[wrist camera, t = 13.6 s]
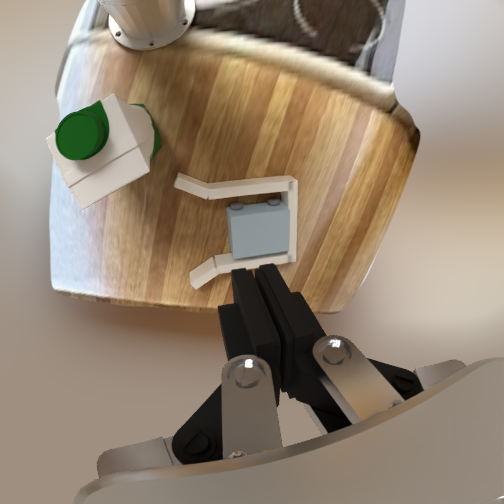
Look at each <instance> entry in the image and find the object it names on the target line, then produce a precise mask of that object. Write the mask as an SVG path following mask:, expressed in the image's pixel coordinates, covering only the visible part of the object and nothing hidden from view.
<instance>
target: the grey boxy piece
mask: <svg viewBox="0 0 504 504" xmlns="http://www.w3.org/2000/svg"><path fill="white" fill-rule="evenodd" d="M226 212H227V224H228V235H229V246H230V249H231V252H232V255H233V258H234V259H238V258H245V257H251V256H258V255H264V254H271V253H278V252H284V251H289V237H290V209H289V208H288V207H287V206H286V205H285V204H284V203H283V202H282V201H280V199H279V198H269V199H268V202H265V203H256V204H248V205H243V203H242V202H232V203H230V207H226Z"/></svg>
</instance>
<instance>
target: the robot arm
mask: <svg viewBox="0 0 504 504" xmlns="http://www.w3.org/2000/svg"><path fill="white" fill-rule="evenodd" d="M98 1H99V3H100V4H101V5H102V6H103V7H104V9H105V10H106V11H107V12H108V13H109V21H108V22H109V29H110V32H111V34H112V36H113V37H114V39H115V40H116V41H117V42H118V43H120V44H121V45H123V46H125V47H127V48H130V49H134V50H153V49H157V48H161V47H163V46H166V45H168V44H170V43H172V42H173V41H175V40H177V39H178V38H179V37H180V36H182V35H183V34H184V33H185V32H186V30H187V29H188V28H189V27H190V25H191V23H192V21H193V19H194V16H195V0H98ZM184 23H186V25H183V24H184ZM119 34H121V35H120V36H119V37H118V35H119ZM152 43H153V44H154V45H153V46H150V44H152ZM231 277H232V287H233V297H234V303H233V304H227V305H221V306H218V313H219V319H220V325H221V330H222V336H223V340H224V345H225V349H226V354H227V358H228V362H227V363H226V364H225V366H224V367H223V370H222V383H221V385H220V386H219V387H218V388H217V389H216V390H215V391H214V393H212V395H211V396H210V397H209V398H208V399H207V400H206V401H205V402H204V403H203V404H202V406H201V407H200V408H199V409H198V410H197V411H196V412H195V413H194V414H193V415H192V416H191V417H190V419H189V420H188V421H187V422H186V423H185V424H184V425H183V426H182V427H181V428H180V429H179V430H178V431H177V432H176V434H175V435H174V436H172V437H169V438H165V439H163V438H162V437H160V438H156V439H152V440H149V441H145V442H141V443H137V444H133V445H128V446H124V447H120V448H115V449H110V450H107V451H105V452H103V453H102V454H101V455H100V456H99V458H98V461H97V471H98V475H99V479H96V480H94V481H92V482H90V483H88V484H86V485H85V486H83V487H82V488H81V489H80V490H79V491H78V492H77V494H76V496H75V498H74V501H73V504H504V358H490V359H484V360H480V361H477V362H475V363H472V364H470V365H468V366H466V365H465V364H464V363H463V362H461V361H458V360H449V361H445V362H441V363H438V364H434V365H430V366H425V367H421V368H417V369H415V370H414V372H411V371H409V370H406V369H403V368H399V367H396V366H392V365H389V364H385V363H382V362H378V361H375V360H372V359H368V358H366V357H365V356H364V355H363V354H362V352H361V351H360V350H359V349H358V348H357V347H356V346H355V345H354V343H352V342H351V341H350V340H349V339H347V338H345V337H342V336H338V335H329V336H326V334H325V332H324V330H323V329H322V327H321V326H320V324H319V322H318V320H317V319H316V317H315V316H314V314H313V312H312V311H311V309H310V307H309V306H308V304H307V302H306V301H305V299H304V297H303V296H302V294H301V293H300V292H293V293H291V292H290V290H289V288H288V286H287V285H286V283H285V281H284V279H283V278H282V276H281V274H280V272H279V271H278V269H277V267H276V265H275V264H274V263H270V264H264V265H260V266H259V269H256V270H255V278H254V275H253V273H252V271H251V270H250V271H247V270H246V268H239V269H232V270H231ZM280 389H281V391H282V392H287V393H288V396H289V398H290V399H291V398H296V400H298V401H300V402H302V403H304V407H305V409H306V410H307V412H308V414H309V415H310V417H311V418H312V420H313V421H314V423H315V424H316V426H317V427H318V429H319V430H320V432H321V434H322V435H323V436H320V437H317V438H314V439H310V440H308V441H304V442H301V443H297V444H294V445H290V446H287V447H283V446H282V439H281V433H280V426H279V420H278V414H277V407H278V405H279V395H280Z"/></svg>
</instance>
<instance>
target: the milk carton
mask: <svg viewBox="0 0 504 504" xmlns="http://www.w3.org/2000/svg"><path fill="white" fill-rule="evenodd" d="M46 142H47V144H48V147H49V149H50V151H51V153H52V155H53V158H54V160H55V162H56V164H57V166H58V168H59V170H60V172H61V174H62V176H63V179H64V182H65V183H66V185H67V187H68V188H70V190H71V192H72V193H73V195H74V197H75V199H76V201H77V202H78V204H79V206H80V208H81V209H82V210H83V209H85V208H86V207H88V206H90V205H91V204H93V203H95V202H97V201H98V200H100V199H102V198H104V197H106V196H107V195H109V194H111V193H113V192H115V191H116V190H118V189H120V188H122V187H123V186H125V185H127V184H129V183H131V182H133V181H135V180H136V179H138V178H140V177H141V176H143V175H145V174H146V173H148V172H150V161H151V160H152V159H153V157H154V156H155V154H156V153H157V152H158V150H159V149H160V148H161V146H162V144H161V141H160V137H159V134H158V131H157V129H156V126H155V124H154V122H153V120H152V118H151V116H150V114H149V112H148V110H147V109H146V107H145V106H144V104H128V103H126V102H125V101H123V100H122V99H121V98H119V97H118V96H116V95H115V94H112V95H110V96H108V97H107V98H105V99H103V100H102V101H100V100H99V101H98V102H96V103H94V104H93V105H91V106H89V107H86V108H83V109H81V110H79V111H78V112H73V113H70V114H69V115H67V116H66V117H65V118H64V119H63V120H62V121H61V122H60V124H59V125H58V128H57V129H56V130H55V132H54V133H52V134H51V135H50V136H48V137H47V138H46Z"/></svg>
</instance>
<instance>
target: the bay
mask: <svg viewBox="0 0 504 504" xmlns="http://www.w3.org/2000/svg"><path fill="white" fill-rule="evenodd" d="M174 187H175V188H178V189H180V190H183V191H186V192H188V193H191V194H193V195H196V196H199V197H201V198H204V199H206V200H207V197H208V198H209V200H212V199H220V198H227V197H236V196H244V195H253V194H262V193H272V192H281V201H282V202H283V203H284V204H285V205H286V206H287V207H288V208H289V209H290V237H289V251H284V252H278V253H271V254H264V255H258V256H251V257H245V258H238V259H234V258H233V255H232V253H228V254H221V255H214V256H215V259H214V258H213V256H212V257H211V258H209V259H208V260H206V261H205V262H204V263H202V264H201V265H199V266H198V267H197V268H195V269H194V270H192V271H191V272H190V284H191V285H192V286H193V287H194V288H195V289H198V288H199V287H201V286H202V285H204V284H205V283H207V282H208V281H209V280H211V279H212V278H214V277H215V276H217V275H218V274H221V273H228V272H231V270H232V269H239V268H246V270H247V269H253V268H259V266H260V265H264V264H270V263H274V264H275V265H277V264H283V263H289V262H295V261H296V244H297V204H298V180H296V179H295V178H293V177H292V176H290V175H286V176H273V177H262V178H251V179H241V180H232V181H224V182H215V183H205V182H203V181H200V180H198V179H195V178H193V177H190V176H188V175H185V174H182V173H180V172H178V174H177V177H176V179H175V182H174Z"/></svg>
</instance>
